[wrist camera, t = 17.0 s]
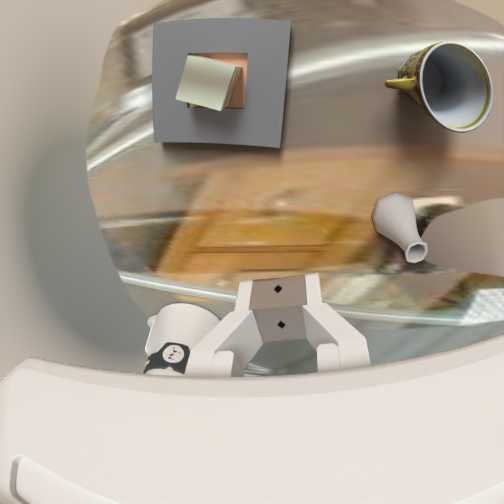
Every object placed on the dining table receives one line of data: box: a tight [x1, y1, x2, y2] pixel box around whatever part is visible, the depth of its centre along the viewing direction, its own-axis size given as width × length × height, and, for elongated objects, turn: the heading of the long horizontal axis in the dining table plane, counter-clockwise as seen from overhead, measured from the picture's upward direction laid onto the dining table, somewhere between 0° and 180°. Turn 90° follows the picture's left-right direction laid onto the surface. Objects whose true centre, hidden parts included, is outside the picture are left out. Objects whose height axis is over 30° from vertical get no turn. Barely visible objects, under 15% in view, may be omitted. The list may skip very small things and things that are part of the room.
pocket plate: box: [152, 18, 291, 148], centre depth 31 cm, size 16×16×2 cm
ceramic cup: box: [385, 41, 493, 133], centre depth 24 cm, size 13×10×10 cm
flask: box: [372, 192, 428, 263], centre depth 36 cm, size 7×7×10 cm
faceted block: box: [176, 55, 242, 111], centre depth 28 cm, size 5×5×6 cm
